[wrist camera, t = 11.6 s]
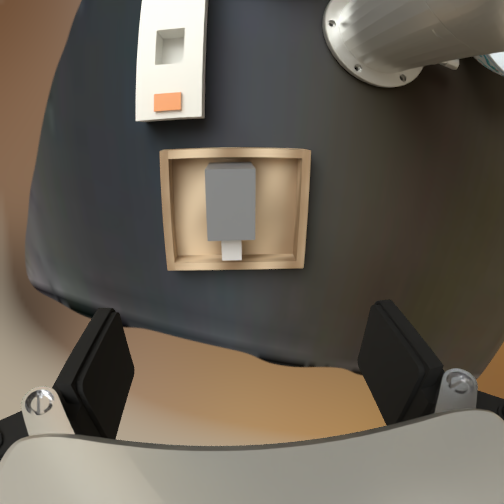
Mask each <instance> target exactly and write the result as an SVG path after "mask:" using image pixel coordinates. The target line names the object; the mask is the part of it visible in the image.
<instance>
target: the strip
mask: <svg viewBox="0 0 504 504" xmlns="http://www.w3.org/2000/svg"><path fill="white" fill-rule="evenodd" d="M207 15H208V0H142V7H141V16H140V27H139V39H138V54H137V75H136V121H140V122H152V121H165V120H180V119H202V118H205V67H206V37H207Z"/></svg>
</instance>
